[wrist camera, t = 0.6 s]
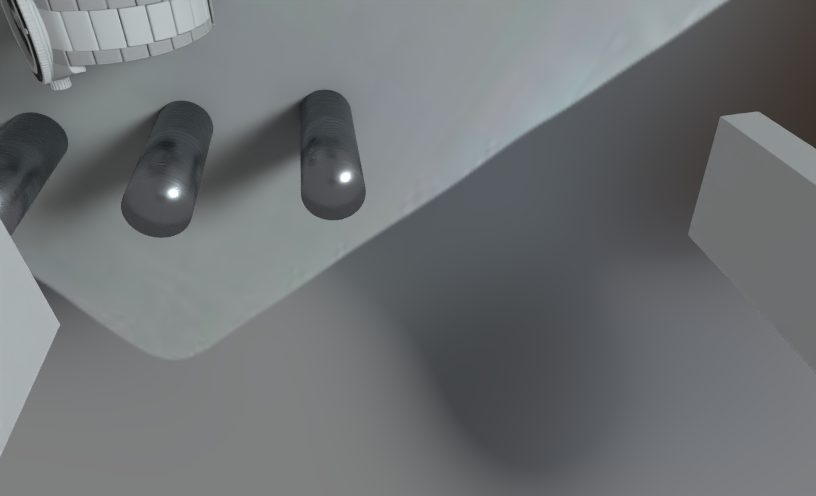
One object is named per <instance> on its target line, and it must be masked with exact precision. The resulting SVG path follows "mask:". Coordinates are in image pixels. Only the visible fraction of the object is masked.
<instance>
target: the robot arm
mask: <svg viewBox="0 0 816 496" xmlns="http://www.w3.org/2000/svg"><path fill="white" fill-rule="evenodd" d="M688 235H689V236H690V237H691V238H692V240H693V241H694V242H695V243H696V244H697V245H698V246H699V247H700V248H701V249H702V250H703V251H704V253H705V254H707V256H708V257H709V258H710V259H711V260H712V261H713V262H714V263H715V264H716V266H717V267H718V268H719V269H720V270H721V271H722V272H723V273H724V274H725V275H726V276H727V277H728V279H729V280H730V281H731V282H732V283H733V284H734V285H735V286H736V287H737V288H738V289H739V290H740V291H741V292H742V294H743V295H744V296H745V297H746V298H747V299H748V300H749V301H750V302H751V303H752V304H753V305H754V307H755V308H756V309H757V310H758V311H759V312H760V313H761V314H762V315H763V316H764V317H765V318H766V320H768V322H769V323H770V324H771V325H772V326H773V327H774V328H775V329H776V330H777V331H778V333H780V335H781V336H782V337H783V338H784V339H785V340H786V341H787V342H788V343H789V344H790V346H791V347H792V348H793V349H794V350H795V351H796V352H797V353H798V354H799V355H800V356H801V357H802V358H803V360H804V361H805V362H806V363H807V364H808V365H809V366H810V367H811V368H812V369H813V370H814V371H815V372H816V149H815V148H813V147H812V146H810V145H809V144H807V143H806V142H804V141H803V140H801V139H800V138H798V137H796V136H795V135H793V134H792V133H790V132H789V131H787V130H786V129H784V128H783V127H781V126H780V125H778V124H776V123H775V122H773V121H772V120H770V119H769V118H767V117H766V116H764V115H763V114H761V113H760V112H752V113H744V114H736V115H728V116H721V117H720V120H719V124H718V127H717V131H716V135H715V139H714V142H713V146H712V149H711V153H710V157H709V160H708V164H707V167H706V171H705V175H704V178H703V182H702V185H701V189H700V193H699V196H698V200H697V204H696V208H695V211H694V215H693V218H692V222H691V226H690V229H689V233H688ZM59 326H60V324H59V322H58V320H57V318H56V316H55V315H54V313H53V311H52V309H51V308H50V306H49V305H48V303H47V301H46V299H45V297H44V295H43V293H42V292H41V290H40V288H39V286H38V285H37V283H36V281H35V279H34V278H33V276H32V274H31V272H30V270H29V269H28V267H27V265H26V263H25V262H24V260H23V258H22V256H21V254H20V253H19V251H18V249H17V247H16V246H15V244H14V242H13V240H12V239H11V237H10V235H9V233H8V231H7V230H6V228H5V226H4V224H3V223H2V221H1V219H0V456H1V454H2V452H3V449H4V447H5V445H6V443H7V440H8V438H9V436H10V434H11V432H12V429H13V427H14V425H15V423H16V421H17V418H18V416H19V414H20V412H21V410H22V407H23V405H24V403H25V401H26V399H27V396H28V394H29V392H30V390H31V387H32V385H33V383H34V381H35V379H36V377H37V374H38V372H39V370H40V368H41V365H42V363H43V361H44V359H45V357H46V354H47V352H48V350H49V348H50V346H51V343H52V341H53V339H54V336H55V334H56V332H57V330H58V328H59Z"/></svg>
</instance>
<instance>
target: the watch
mask: <svg viewBox="0 0 816 496" xmlns="http://www.w3.org/2000/svg"><path fill="white" fill-rule="evenodd" d="M0 4H1V6H2V9H3V11H4V14H5V16H6V19H7V21H8V23H9V26H10V28H11V30H12V32H13V35H14V37H15V39H16V41H17V43H18V45H19V47H20V49H21V51H22V53H23V55H24V57H25V59H26V61H27V63H28V64H29V66H30V68H31V69H32V71H33V73H34V74H35V76H36V77H37V79H38V80H39V81H40V82H41V83H42V84H48V83H49V85H50V88H51V89H52V90H63V89H67V88H69V87H71V86H72V84H71V81H70V78H69V77H70V76H72V75H74V74H78V73H82V72H86V69H85V66H84V65H93V64H96V63H97V64H98V65H100V64H109V63H116V62H122V61H123V60H124V61H125V62H126V61H132V60H137V59H141V58H146V57H149V55H150V56H156V55H160V54H163V53H166V52H169V51H172V50H173V49H177V48H180V47H182V46H185V45H187V44H189V43H191V42H192V41H196V40H197V39H199V38H201V37H202V36H204V35H205V34H207V33H208V32H209V31H210V29H211V27H214V25H215V24H216V23H215V17H214V11H213V5H212V0H0ZM126 42H127V43H126ZM127 44H128V45H127ZM146 44H147V45H146ZM147 48H148V49H147ZM120 50H121V51H120ZM148 52H149V53H148ZM121 53H122V55H121ZM122 57H123V58H122Z"/></svg>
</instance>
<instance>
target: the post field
mask: <svg viewBox="0 0 816 496" xmlns="http://www.w3.org/2000/svg"><path fill="white" fill-rule="evenodd" d="M212 133H213V124H212V121H211V118H210V116H209V115H208V114H207V112H206V111H205V110H204V109H203V108H201V107H200V106H198V105H196V104H194V103H191V102H188V101H175V102H172V103H169V104H168V105H166V106H165V107H164V108H163V109H162V110H161V112H160V113H159V116H158V118H157V120H156V123H155V125H154V127H153V129H152V132H151V134H150V136H149V139H148V141H147V143H146V145H145V148H144V150H143V152H142V155H141V157H140V159H139V162H138V164H137V166H136V168H135V171H134V173H133V175H132V178H131V180H130V182H129V184H128V187H127V189H126V191H125V194H124V196H123V198H122V202H121V210H122V214H123V216H124V218H125V219H126V221H127V222H128V223H129V225H131V226H132V227H133V228H134V229H135V230H137V231H139V232H140V233H143V234H145V235H148V236H152V237H160V238H162V237H171V236H174V235H177V234H179V233H181V232H182V231H183V230H185V229H186V228H187V226H188V225H189V223H190V221H191V218H192V213H193V209H194V205H195V201H196V197H197V193H198V189H199V185H200V181H201V177H202V173H203V169H204V165H205V161H206V157H207V153H208V149H209V145H210V141H211V137H212ZM67 148H68V139H67V136H66V133H65V132H64V130H63V129H62V127H61V126H60V125H59V124H58V123H57V122H55V121H54V120H52V119H51V118H49V117H47V116H45V115H42V114H38V113H22V114H19V115H17V116H15V117H14V118H13V119H12V120H11V121H10V122H9V123H8V124H7V125H6V127H5V128H4V129H3V130H2V131H1V132H0V219H1V221H2V223H3V224H4V226H5V228H6V230H7V231H8V233H9V235H10V236H11V235H12V233H13V232H14V230H15V229H16V227H17V226H18V224H19V223H20V221H21V219H22V218H23V216H24V215H25V213H26V212H27V210H28V209H29V207H30V206H31V204H32V203H33V201H34V200H35V198H36V197H37V195H38V194H39V192H40V191H41V189H42V188H43V186H44V184H45V183H46V181H47V180H48V178H49V177H50V175H51V174H52V172H53V171H54V169H55V168H56V166H57V165H58V163H59V162H60V160H61V159H62V157H63V156H64V154H65V152H66V151H67ZM300 156H301V197H302V201H303V203H304V205H305V207H306V208H307V209H308V210H309V211H310V212H311V213H312V214H313V215H315V216H317V217H319V218H322V219H326V220H340V219H344V218H347V217H349V216H351V215H353V214H354V213H355V212H356V211H358V210H359V208H360V207H361V206H362V204H363V202H364V199H365V195H366V190H365V184H364V178H363V173H362V168H361V162H360V157H359V151H358V146H357V141H356V135H355V130H354V124H353V119H352V114H351V109H350V106H349V103H348V102H347V100H346V99H345V98H344V97H343V96H342V95H340V94H339V93H337V92H335V91H331V90H319V91H316V92H313V93H311V94H310V95H309V96H307V97H306V98H305V100H304V101H303V103H302V105H301V108H300Z"/></svg>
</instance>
